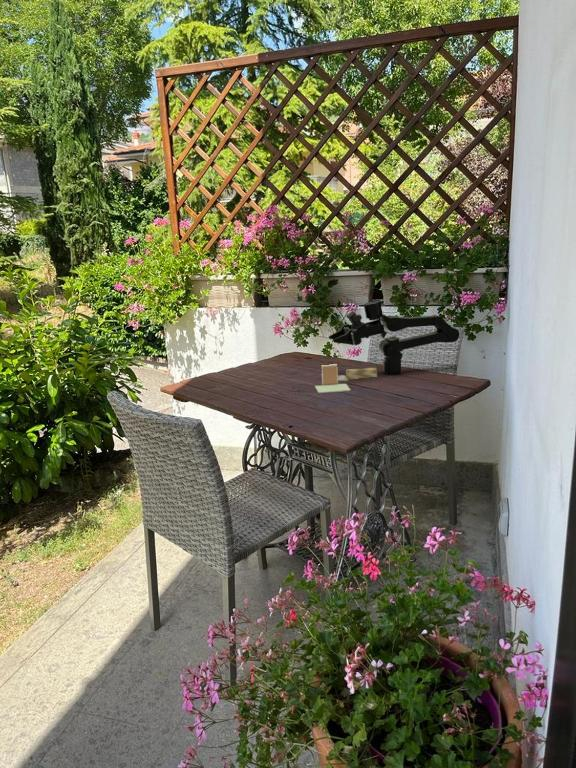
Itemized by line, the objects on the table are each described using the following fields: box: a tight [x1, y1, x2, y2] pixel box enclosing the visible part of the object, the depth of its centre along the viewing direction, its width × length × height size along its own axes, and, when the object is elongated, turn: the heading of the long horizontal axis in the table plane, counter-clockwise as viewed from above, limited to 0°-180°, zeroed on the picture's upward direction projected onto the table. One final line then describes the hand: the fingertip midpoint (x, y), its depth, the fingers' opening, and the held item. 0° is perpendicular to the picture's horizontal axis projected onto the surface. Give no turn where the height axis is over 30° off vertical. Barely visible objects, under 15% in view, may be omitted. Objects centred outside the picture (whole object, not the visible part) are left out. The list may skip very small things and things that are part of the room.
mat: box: [314, 383, 351, 394], centre depth 213 cm, size 12×9×1 cm
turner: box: [338, 367, 378, 383], centre depth 226 cm, size 21×7×4 cm, turn 95°
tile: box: [321, 363, 339, 386], centre depth 217 cm, size 6×2×8 cm, turn 95°
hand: (331, 339), depth 225 cm, fingers open, 9 cm apart
